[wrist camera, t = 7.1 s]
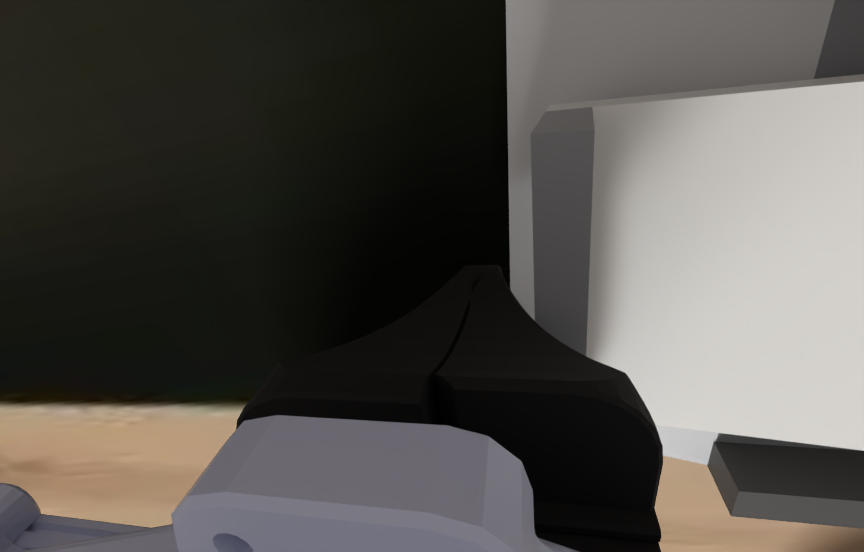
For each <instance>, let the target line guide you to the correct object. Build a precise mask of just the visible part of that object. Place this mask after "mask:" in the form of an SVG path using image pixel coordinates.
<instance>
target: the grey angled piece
mask: <svg viewBox="0 0 864 552" xmlns="http://www.w3.org/2000/svg"><path fill="white" fill-rule="evenodd" d="M531 177H532V221H533V265H534V308H535V322H536V323H537V324H538V325H539V326H541V327H542V328H543V329H544V330H545V331H546V332H548V333H549V334H550V335H552V336H553V337H555V338H556V339H557V340H559V341H560V342H562V343H563V344H565V345H567V346H568V347H570V348H572V349H573V350H575V351H577V352H579V353H581V354H583V355H585V356H587V357H589V358H591V359H593V360H595V361H598V362H600V363H603V364H605V365H608V366H610V367H612V368H615V369H617V370H620V371H622V372H625V373H626V374H627V375H628V377H629V378H630V380H631V381H632V383H633V385H634V386H635V388H636V390H637V391H638V393H639V395H640V396H641V398H642V400H643V401H644V403H645V405H646V407H647V409H648V410H649V412H650V414H651V417H652V419H653V421H654V423H655V425H659V426H667V427H676V428H684V429H692V430H700V431H708V432H716V433H724V434H732V435H741V436H749V437H757V438H765V439H773V440H781V441H789V442H797V443H805V444H814V445H822V446H830V447H838V448H846V449H854V450H862V451H864V74H859V75H849V76H839V77H829V78H818V79H808V80H798V81H788V82H778V83H768V84H758V85H748V86H737V87H727V88H717V89H707V90H697V91H687V92H677V93H666V94H656V95H646V96H636V97H626V98H616V99H606V100H596V101H585V102H575V103H565V104H555V105H550V106H549V107H548V109H547V110H546V112H545V113H544V115H543V116H542V118H541V119H540V121H539V122H538V124H537V125H536V127H535V128H534V130H533V131H532V133H531Z"/></svg>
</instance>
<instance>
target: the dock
mask: <svg viewBox="0 0 864 552" xmlns="http://www.w3.org/2000/svg"><path fill="white" fill-rule="evenodd" d="M506 45H507V111H508V176H509V241H510V290H511V291H512V293H513V294H514V296H515V298H516V299H517V300H518V302H519V303H520V305H521V306H522V307H523V308H524V309H525V311H526V312H527V313H528V314H529V315H530V316H531V318H532V319H533V320H534V321H535V308H534V265H533V221H532V177H531V133H532V131H533V130H534V128H535V127H536V125H537V124H538V122H539V121H540V119H541V118H542V116H543V115H544V113H545V112H546V110H547V109H548V107H549V106H550V105H555V104H565V103H575V102H585V101H596V100H606V99H616V98H626V97H636V96H646V95H656V94H666V93H677V92H687V91H697V90H707V89H717V88H727V87H737V86H748V85H758V84H768V83H778V82H788V81H798V80H808V79H818V78H829V77H839V76H849V75H859V74H864V0H506ZM656 428H657V431H658V433H659V437H660V440H661V443H662V445H663V456H668V457H672V458H677V459H681V460H686V461H691V462H695V463H700V464H704V465H708V468H709V470H710V472H711V474H712V476H713V478H714V481H715V483H716V485H717V487H718V489H719V491H720V494H721V496H722V498H723V500H724V502H725V504H726V507H727V509H728V511H729V513H730V515H731V516H736V517H746V518H757V519H768V520H778V521H789V522H800V523H810V524H821V525H832V526H842V527H853V528H864V451H862V450H854V449H846V448H838V447H830V446H822V445H814V444H805V443H797V442H789V441H781V440H773V439H765V438H757V437H749V436H741V435H732V434H724V433H716V432H708V431H700V430H692V429H684V428H676V427H667V426H659V425H656Z"/></svg>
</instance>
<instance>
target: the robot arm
mask: <svg viewBox="0 0 864 552" xmlns="http://www.w3.org/2000/svg"><path fill="white" fill-rule="evenodd" d="M662 465H663V445H662V443H661V440H660V437H659V433H658V431H657V428H656V425H655V423H654V421H653V419H652V417H651V414H650V412H649V410H648V409H647V407H646V405H645V403H644V401H643V400H642V398H641V396H640V395H639V393H638V391H637V390H636V388H635V386H634V385H633V383H632V381H631V380H630V378H629V377H628V375H627V374H626V373H625V372H622V371H620V370H617V369H615V368H612V367H610V366H608V365H605V364H603V363H600V362H598V361H595V360H593V359H591V358H589V357H587V356H585V355H583V354H581V353H579V352H577V351H575V350H573V349H572V348H570V347H568V346H567V345H565V344H563V343H562V342H560V341H559V340H557V339H556V338H555V337H553V336H552V335H550V334H549V333H548V332H546V331H545V330H544V329H543V328H542V327H541V326H539V325H538V324H537V323H536V322H535V321H534V320H533V319H532V318H531V316H530V315H529V314H528V313H527V312H526V311H525V309H524V308H523V307H522V306H521V305H520V303H519V302H518V300H517V299H516V298H515V296H514V294H513V293H512V291H511V290H510V288H509V286H508V285H507V282H506V280H505V278H504V276H503V273H502V268H501V267H500V266H499V265H465V266H464V267H463V268H462V269H461V270H460V271H459V272H458V273H457V274H456V275H455V276H454V277H453V278H451V279H450V280H449V281H448V282H447V283H446V284H445V285H444V286H443V287H442V288H441V289H440V290H438V291H437V292H436V293H435V294H434V295H432V296H431V297H430V298H428V299H427V300H426V301H425V302H423V303H422V304H421V305H419V306H418V307H417V308H415V309H414V310H412V311H411V312H409V313H408V314H406V315H405V316H403V317H401V318H400V319H398V320H396V321H395V322H393V323H391V324H389V325H387V326H385V327H383V328H381V329H379V330H377V331H374V332H372V333H370V334H368V335H366V336H364V337H362V338H359V339H357V340H354V341H351V342H349V343H346V344H343V345H340V346H337V347H334V348H331V349H328V350H325V351H321V352H318V353H314V354H310V355H306V356H302V357H298V358H294V359H290V360H285V361H280V363H279V364H278V365H277V366H276V367H275V369H274V370H273V371H272V373H271V374H270V375H269V376H268V378H267V379H266V380H265V382H264V383H263V384H262V385H261V387H260V388H259V389H258V391H257V392H256V393H255V394H254V396H253V397H252V398H251V400H250V401H249V402H248V403H247V405H246V406H245V407H244V409H243V411H242V413H241V414H240V416H239V418H238V420H237V428H236V431H235V432H234V433H233V434H232V435H231V436H230V437H229V439H228V440H227V441H226V443H225V444H224V445H223V446H222V448H221V449H220V450H219V452H218V453H217V454H216V456H215V457H214V458H213V460H212V461H211V462H210V464H209V465H208V466H207V468H206V469H205V470H204V472H203V473H202V474H201V476H200V477H199V478H198V480H197V481H196V482H195V484H194V485H193V486H192V488H191V489H190V490H189V492H188V493H187V494H186V496H185V497H184V498H183V500H182V501H181V502H180V504H179V505H178V506H177V508H176V509H175V510H174V512H173V513H172V514H171V516H172V523H173V524H171V525H165V526H160V527H154V528H148V527H140V526H132V525H124V524H116V523H108V522H100V521H92V520H84V519H76V518H68V517H60V516H53V515H45V514H41V512H40V508H39V507H38V505H37V503H36V502H35V500H34V499H33V498H32V497H31V496H30V495H29V494H28V493H27V492H26V491H25V490H23V489H21V488H20V487H18V486H15V485H12V484H5V483H0V552H661V550H660V547H659V543H658V542H660V539H661V530H660V526H659V523H658V519H657V516H656V513H655V509H654V506H655V501H656V496H657V491H658V486H659V480H660V475H661V470H662Z"/></svg>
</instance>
